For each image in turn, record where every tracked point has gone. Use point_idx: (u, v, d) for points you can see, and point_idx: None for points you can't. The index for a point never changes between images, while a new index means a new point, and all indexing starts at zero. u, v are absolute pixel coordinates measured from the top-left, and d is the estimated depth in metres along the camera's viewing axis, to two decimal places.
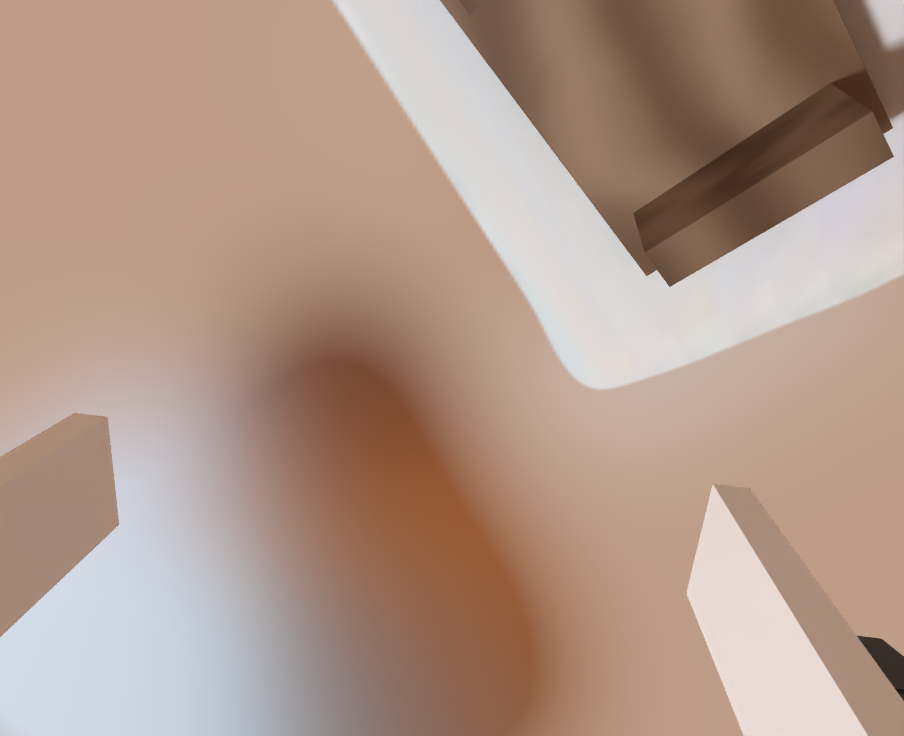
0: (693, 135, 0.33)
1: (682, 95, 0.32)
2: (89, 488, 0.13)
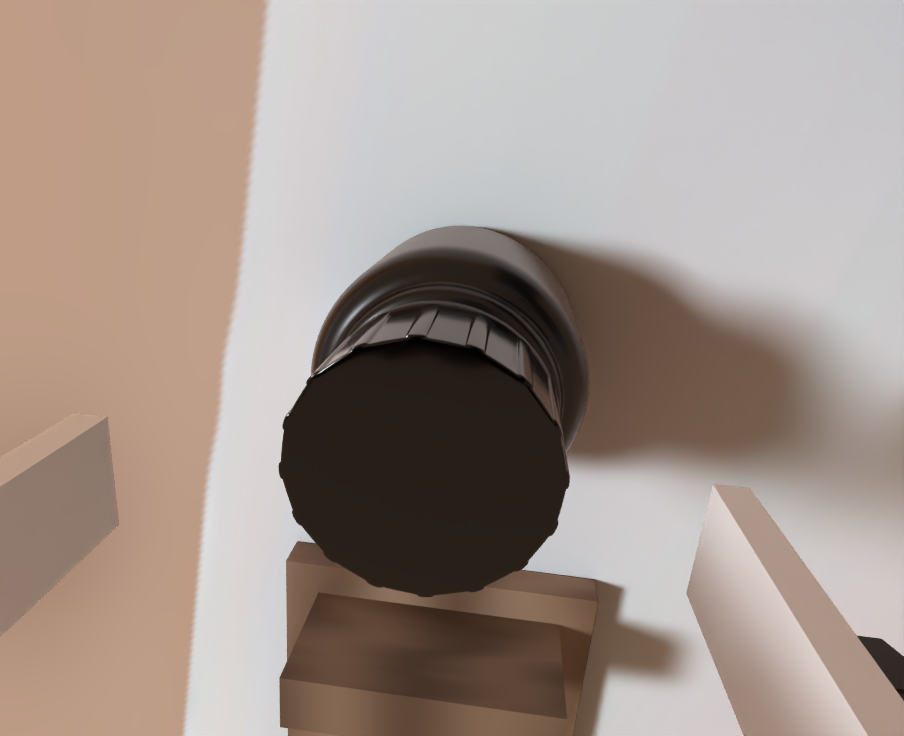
0: None
1: None
2: (89, 488, 0.13)
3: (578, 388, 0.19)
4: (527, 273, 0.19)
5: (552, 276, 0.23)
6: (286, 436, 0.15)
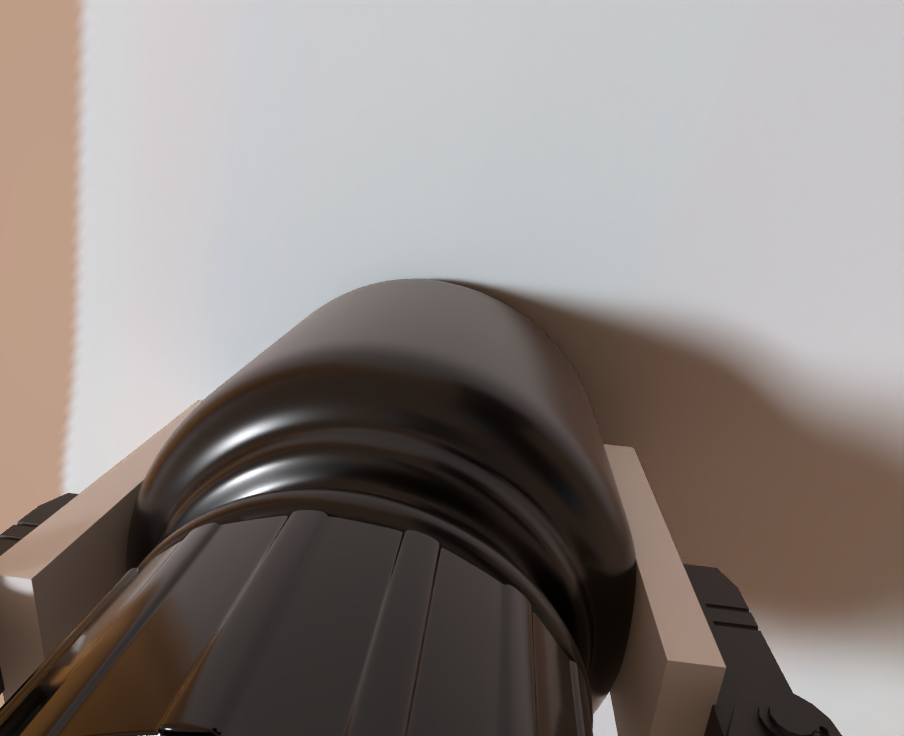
0: None
1: None
2: None
3: (621, 615, 0.10)
4: (523, 397, 0.10)
5: (564, 366, 0.14)
6: None
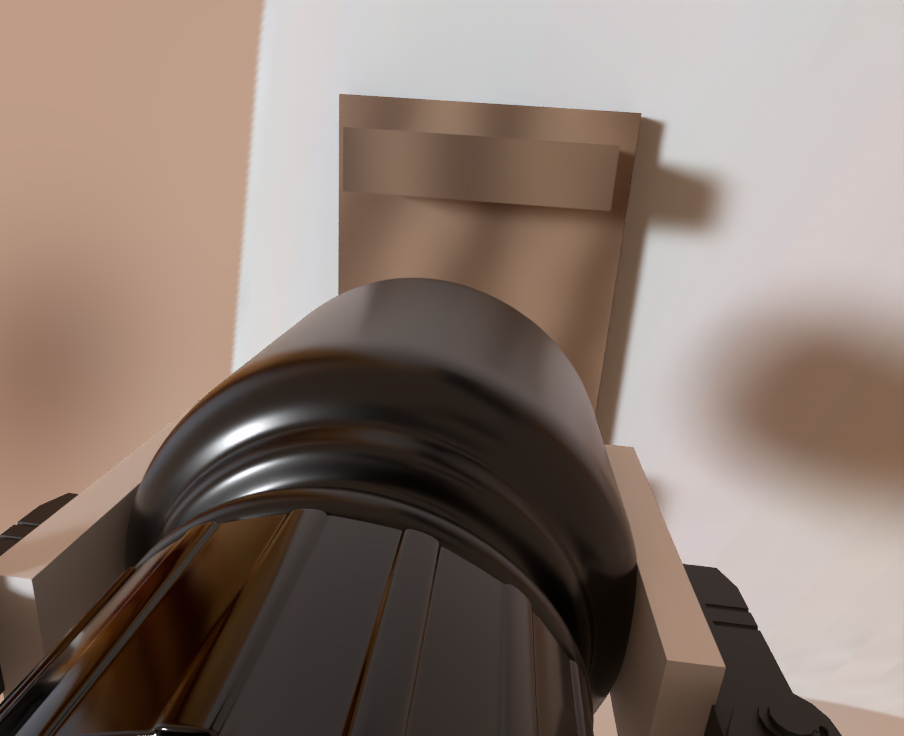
0: None
1: None
2: None
3: (622, 614, 0.10)
4: (523, 396, 0.10)
5: (564, 365, 0.14)
6: None
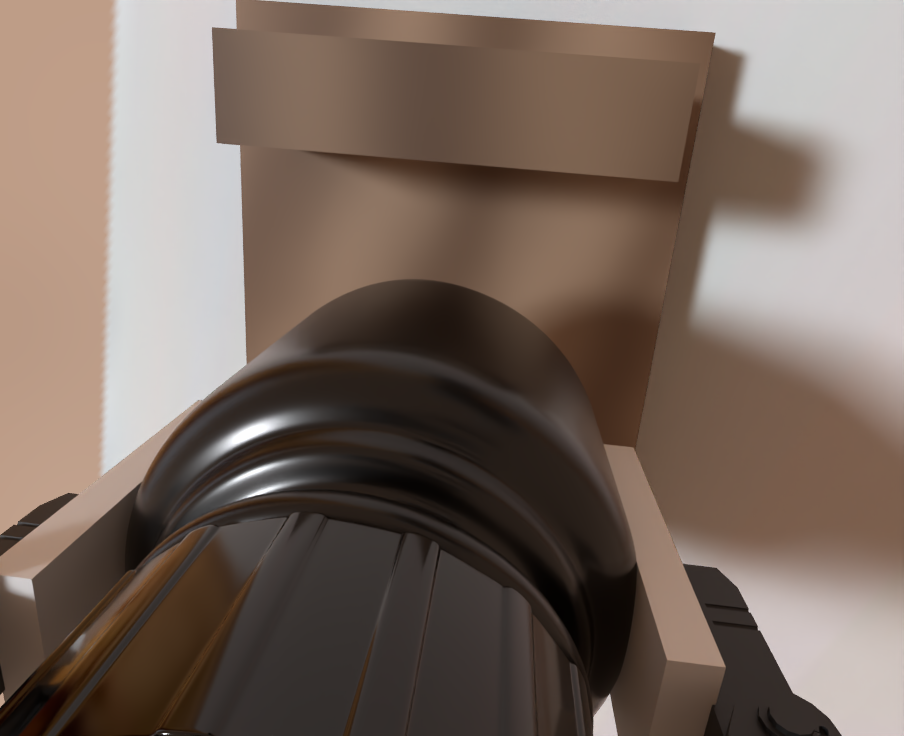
0: None
1: None
2: None
3: (622, 617, 0.10)
4: (523, 398, 0.10)
5: (564, 367, 0.14)
6: None
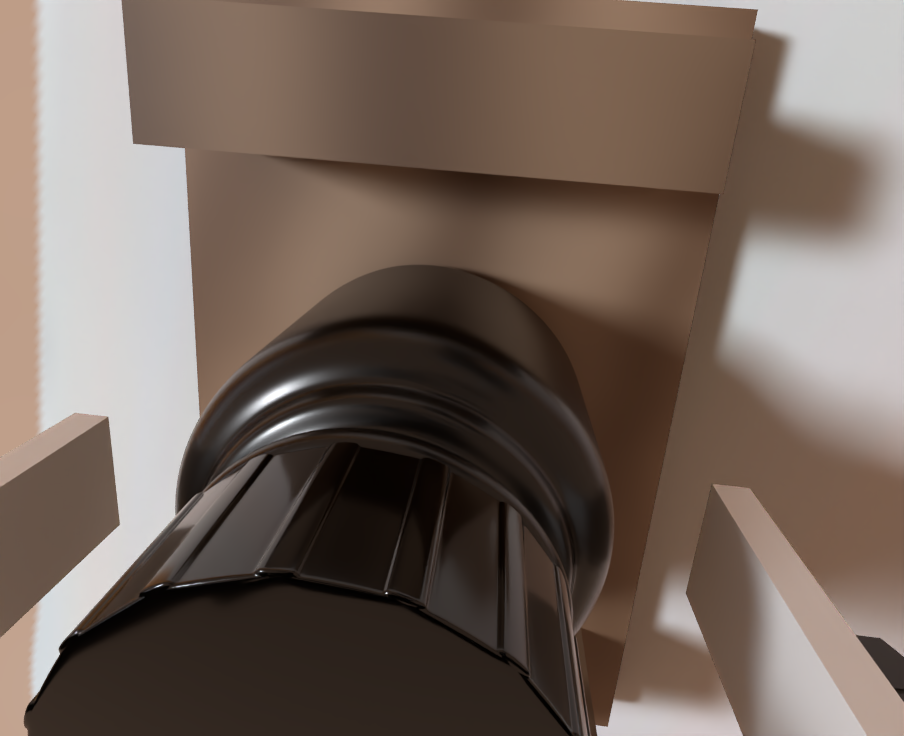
0: None
1: None
2: (90, 488, 0.13)
3: (599, 544, 0.12)
4: (516, 361, 0.11)
5: (552, 341, 0.16)
6: None
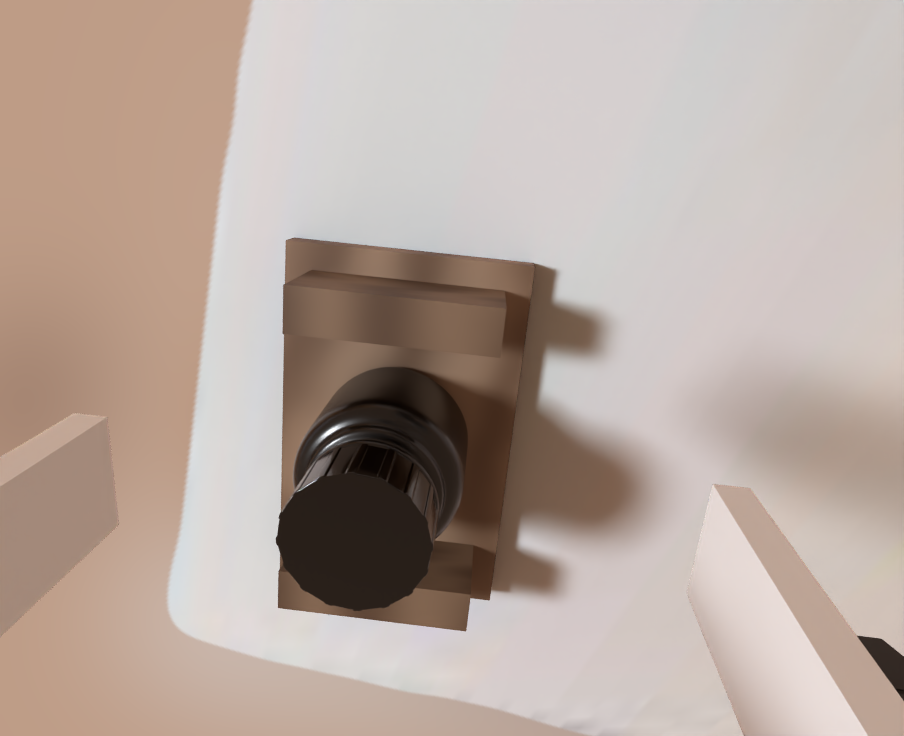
0: None
1: None
2: (89, 488, 0.13)
3: (455, 484, 0.32)
4: (424, 416, 0.31)
5: (449, 404, 0.36)
6: (280, 523, 0.27)
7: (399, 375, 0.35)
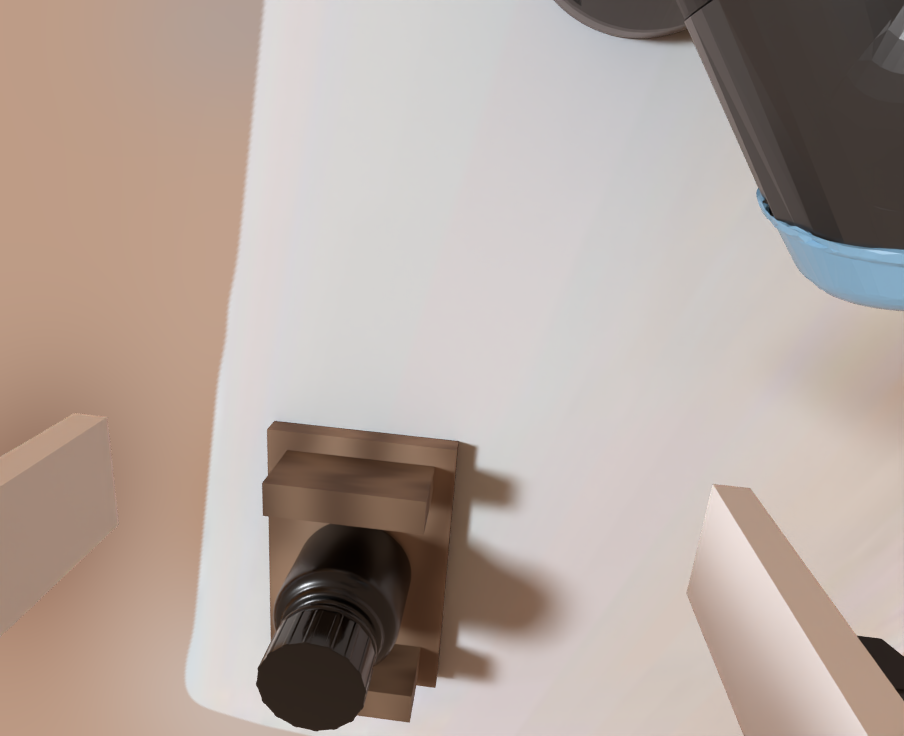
0: None
1: None
2: (89, 488, 0.13)
3: (391, 627, 0.43)
4: (368, 577, 0.42)
5: (393, 552, 0.46)
6: (259, 673, 0.38)
7: (354, 532, 0.46)
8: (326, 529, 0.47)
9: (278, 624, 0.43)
